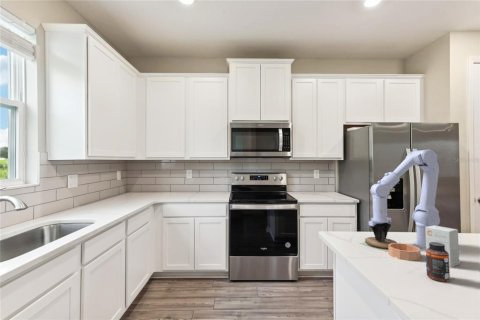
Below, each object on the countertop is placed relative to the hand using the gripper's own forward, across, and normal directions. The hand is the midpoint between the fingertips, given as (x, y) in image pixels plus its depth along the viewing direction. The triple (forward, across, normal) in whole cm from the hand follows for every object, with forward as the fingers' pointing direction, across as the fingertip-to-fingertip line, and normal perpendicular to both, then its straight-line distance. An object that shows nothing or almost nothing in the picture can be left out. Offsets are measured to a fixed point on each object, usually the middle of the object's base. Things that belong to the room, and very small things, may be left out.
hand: (380, 239), depth 114 cm
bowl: (+3, +5, +12) cm, 14 cm away
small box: (+3, -1, +23) cm, 23 cm away
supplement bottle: (+3, +16, +28) cm, 33 cm away
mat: (+3, 0, 0) cm, 3 cm away
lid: (+2, 0, 0) cm, 2 cm away
